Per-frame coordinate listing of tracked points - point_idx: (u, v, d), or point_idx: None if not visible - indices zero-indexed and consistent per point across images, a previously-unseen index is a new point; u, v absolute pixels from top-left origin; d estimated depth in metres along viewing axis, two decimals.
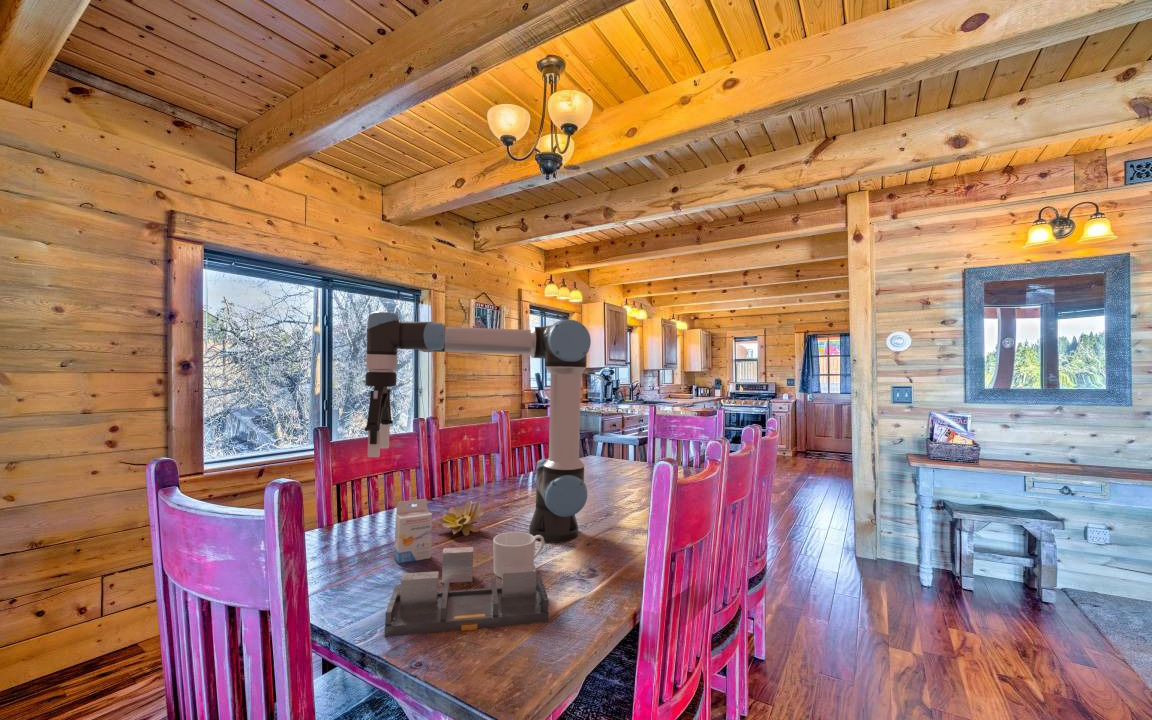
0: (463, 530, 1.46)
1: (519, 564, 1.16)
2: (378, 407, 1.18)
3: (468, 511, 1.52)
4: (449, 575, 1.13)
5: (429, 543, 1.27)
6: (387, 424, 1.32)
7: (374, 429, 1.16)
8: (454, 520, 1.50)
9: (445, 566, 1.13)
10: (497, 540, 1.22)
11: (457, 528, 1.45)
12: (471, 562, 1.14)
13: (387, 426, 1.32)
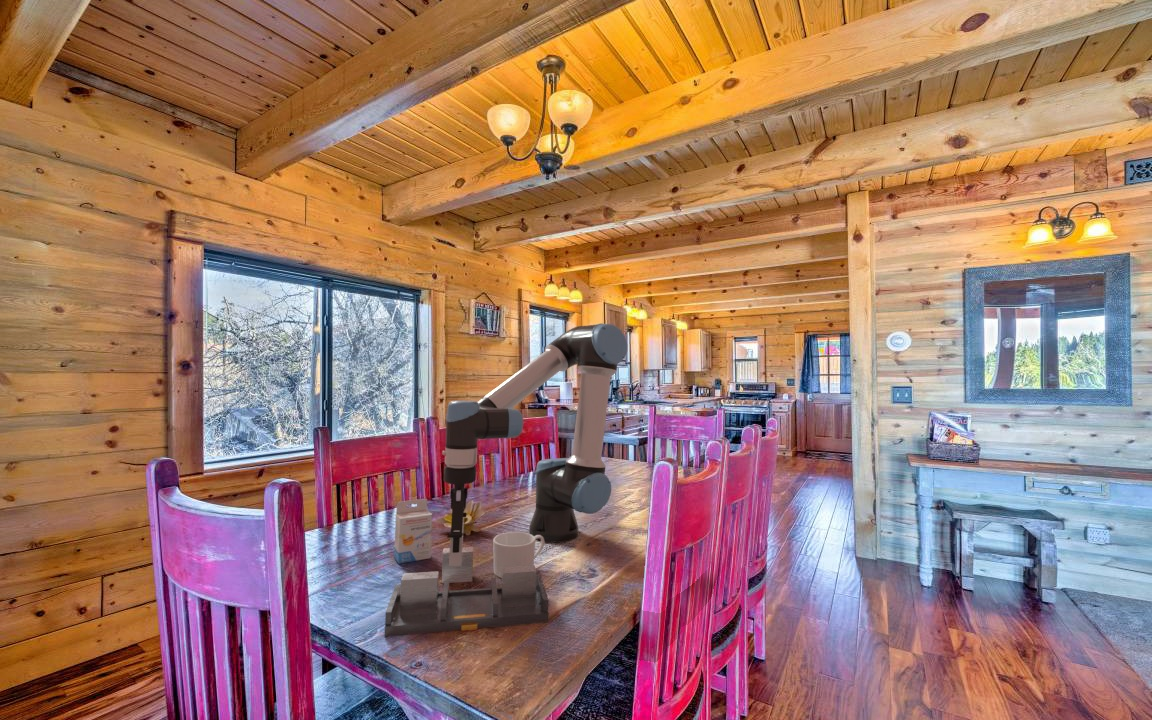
0: (464, 530, 1.46)
1: (519, 564, 1.16)
2: (462, 511, 1.07)
3: (469, 511, 1.52)
4: (449, 575, 1.13)
5: (429, 543, 1.27)
6: None
7: (458, 537, 1.06)
8: None
9: (445, 566, 1.13)
10: (497, 540, 1.22)
11: None
12: (471, 562, 1.14)
13: None
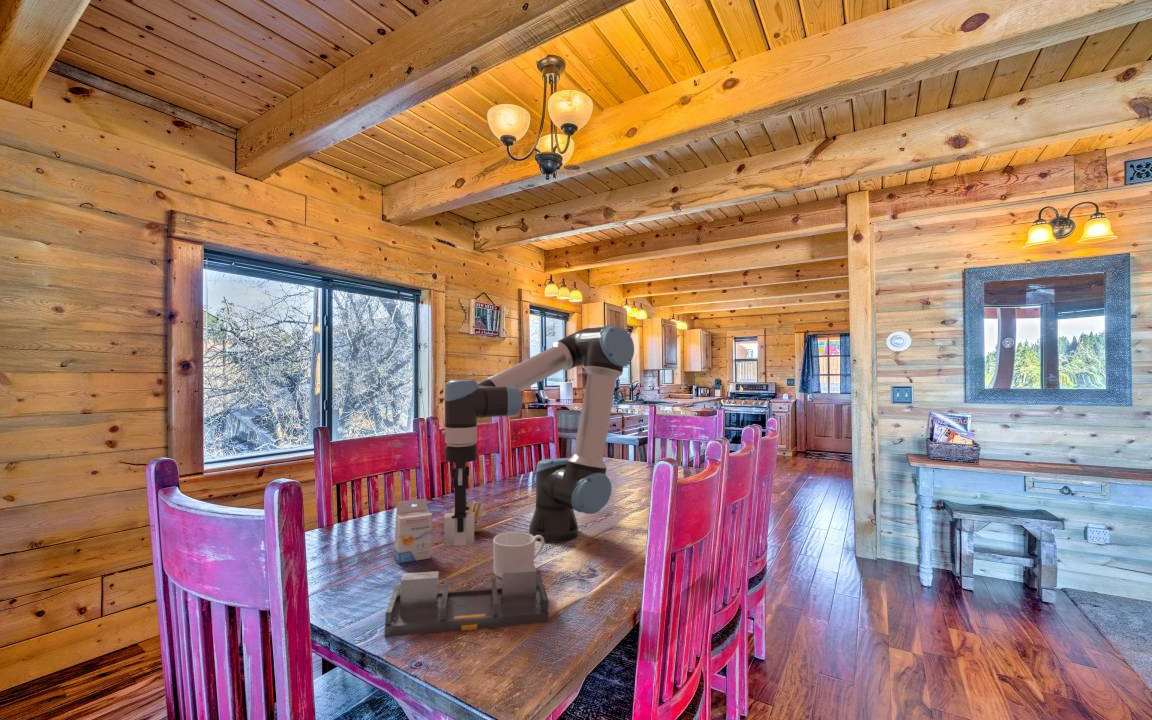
0: None
1: (519, 564, 1.16)
2: (464, 495, 1.10)
3: (471, 510, 1.52)
4: (451, 539, 1.13)
5: (429, 543, 1.27)
6: None
7: (462, 517, 1.11)
8: None
9: (446, 530, 1.13)
10: (497, 540, 1.22)
11: None
12: (473, 526, 1.14)
13: None
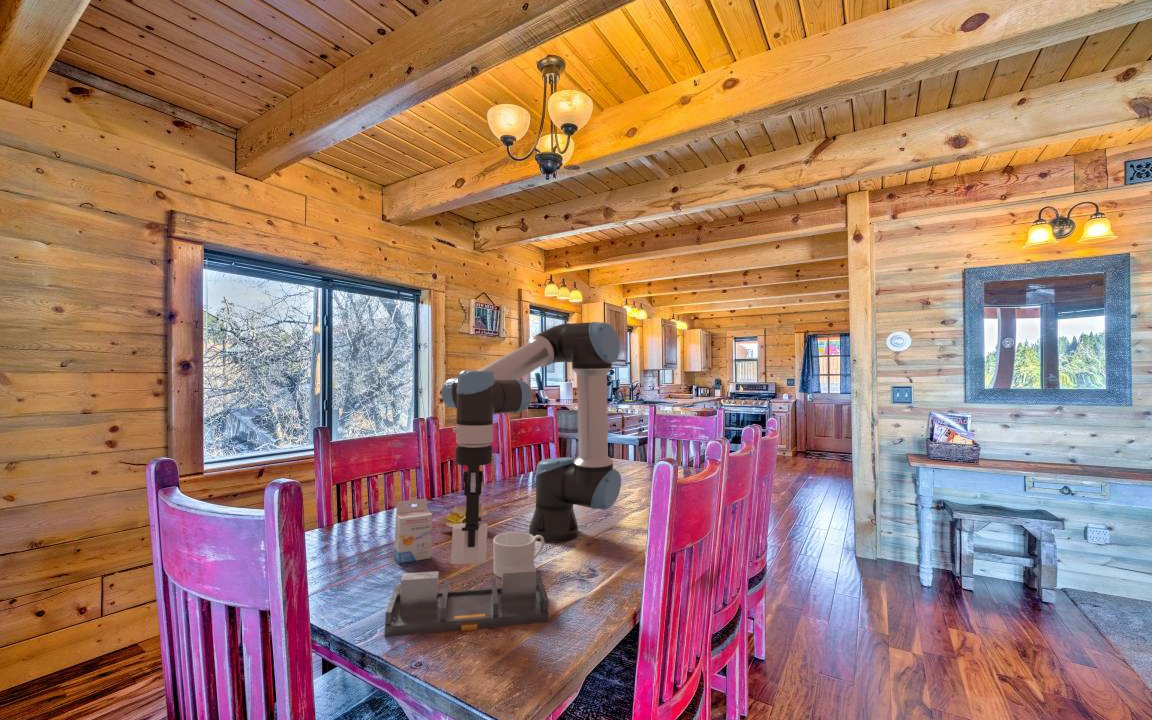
0: None
1: (519, 564, 1.16)
2: (477, 504, 0.94)
3: None
4: (460, 555, 0.97)
5: (429, 543, 1.27)
6: None
7: (474, 530, 0.95)
8: (458, 519, 1.51)
9: (455, 544, 0.97)
10: (497, 540, 1.22)
11: None
12: (485, 540, 0.99)
13: None
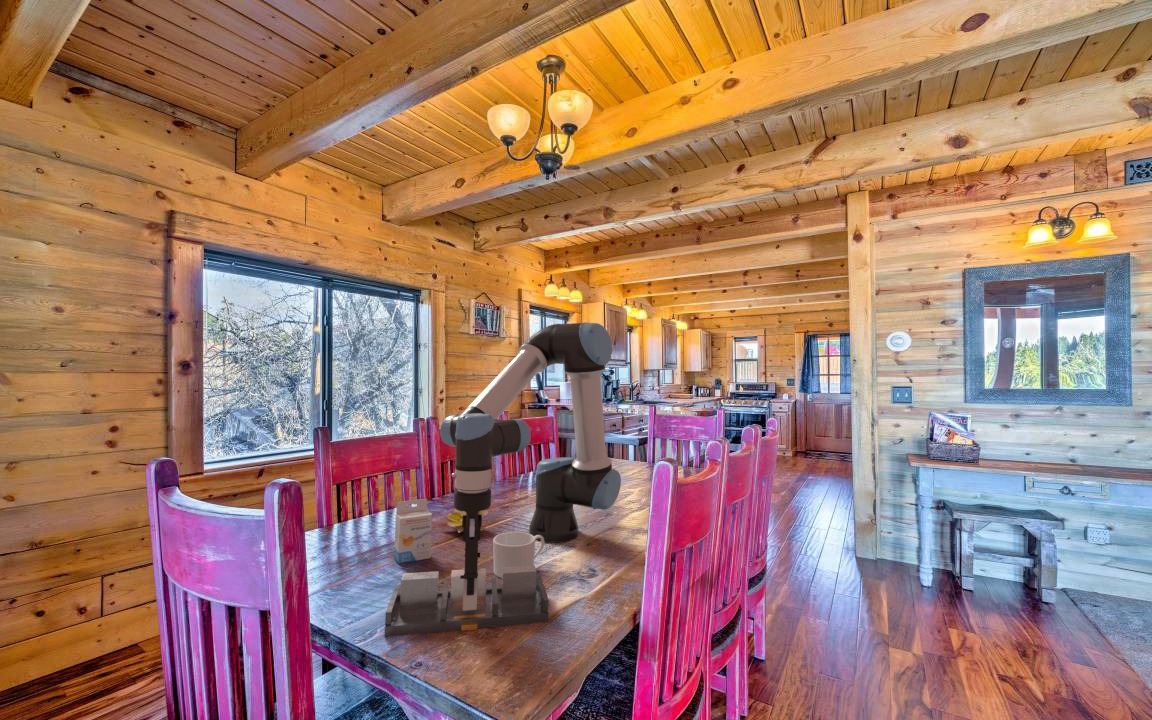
0: None
1: (519, 564, 1.16)
2: (476, 549, 0.93)
3: None
4: (459, 602, 0.97)
5: (429, 543, 1.27)
6: None
7: None
8: (459, 519, 1.51)
9: (453, 592, 0.97)
10: (497, 540, 1.22)
11: (462, 527, 1.47)
12: (484, 587, 0.98)
13: None
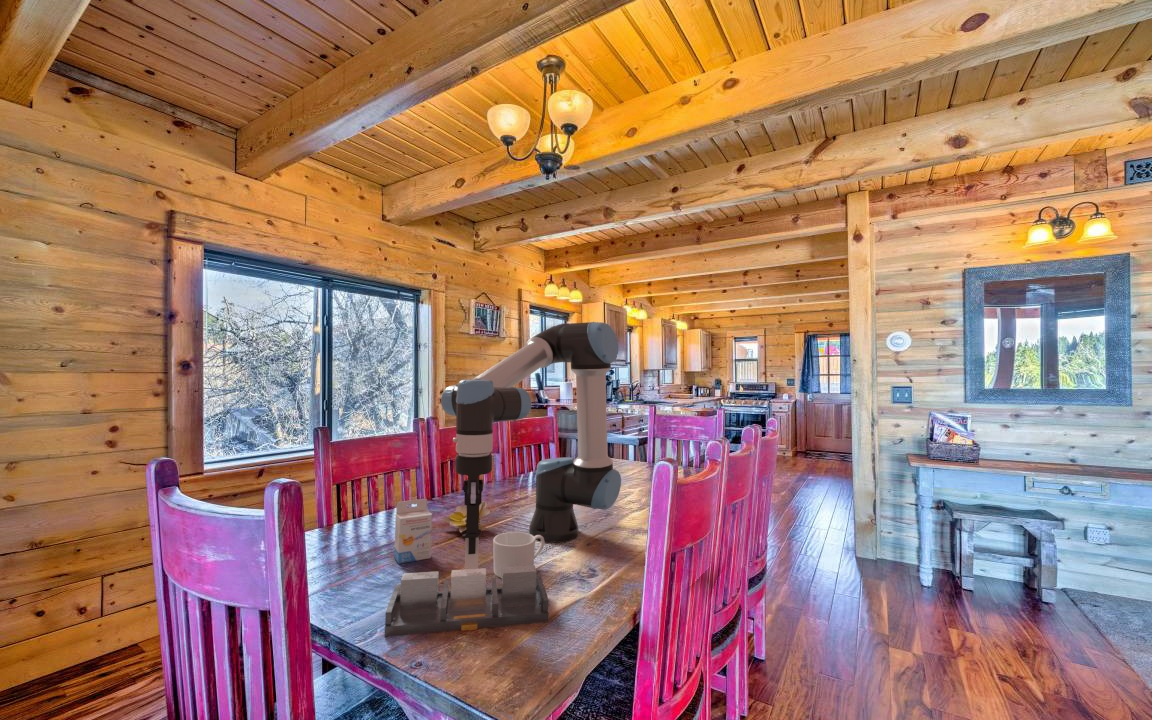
0: None
1: (519, 564, 1.16)
2: (477, 514, 0.95)
3: None
4: (459, 602, 0.97)
5: (429, 543, 1.27)
6: None
7: (474, 537, 0.97)
8: (461, 519, 1.52)
9: (453, 592, 0.97)
10: (497, 540, 1.22)
11: (463, 526, 1.47)
12: (484, 587, 0.98)
13: (476, 538, 1.00)
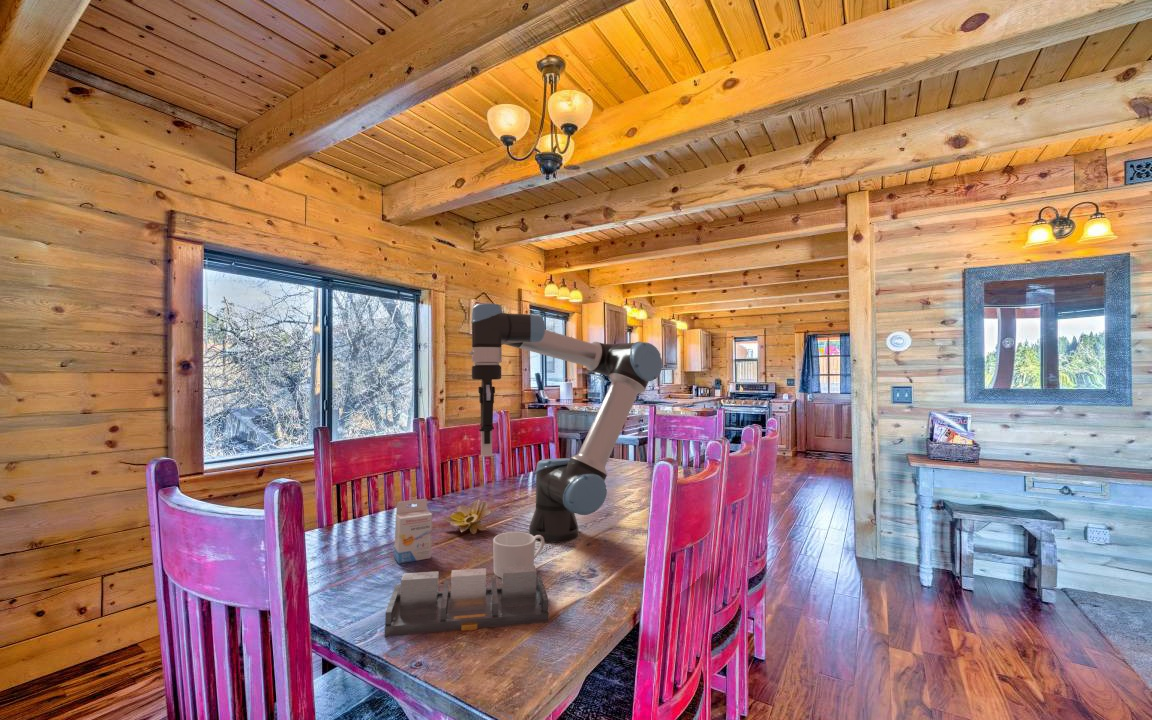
0: (471, 528, 1.48)
1: (519, 564, 1.16)
2: (492, 409, 1.19)
3: (476, 510, 1.54)
4: (459, 602, 0.97)
5: (429, 543, 1.27)
6: None
7: (489, 429, 1.21)
8: (462, 518, 1.52)
9: (453, 592, 0.97)
10: (497, 540, 1.22)
11: (464, 526, 1.47)
12: (484, 587, 0.98)
13: None
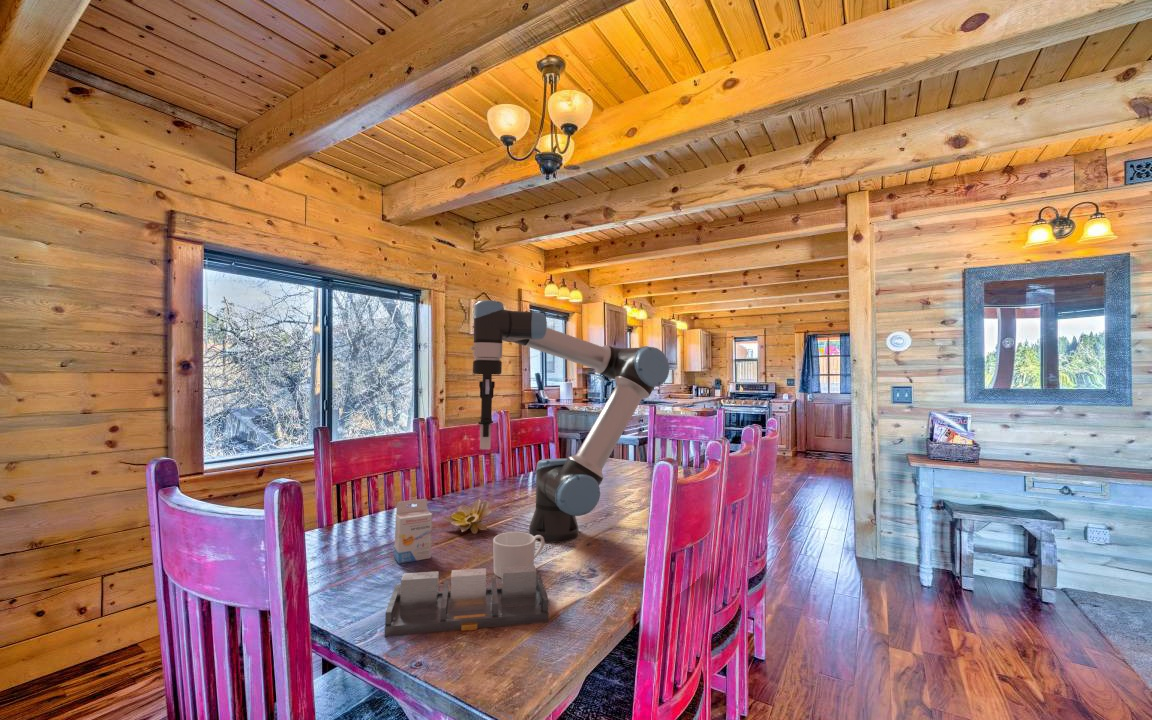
0: (471, 528, 1.48)
1: (519, 564, 1.16)
2: (490, 403, 1.22)
3: (476, 509, 1.54)
4: (459, 602, 0.97)
5: (429, 543, 1.27)
6: None
7: (488, 423, 1.24)
8: (463, 518, 1.52)
9: (453, 592, 0.97)
10: (497, 540, 1.22)
11: (465, 526, 1.47)
12: (484, 587, 0.98)
13: None
